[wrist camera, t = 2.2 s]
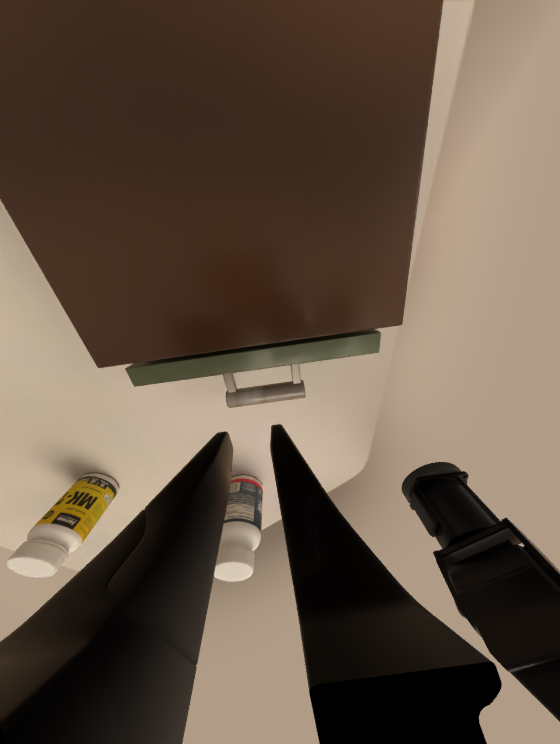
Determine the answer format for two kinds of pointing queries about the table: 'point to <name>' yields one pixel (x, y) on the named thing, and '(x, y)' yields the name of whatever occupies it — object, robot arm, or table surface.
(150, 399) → the table surface
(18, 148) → the cabinet
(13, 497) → the table surface
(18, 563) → the supplement bottle
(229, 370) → the drawer
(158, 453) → the table surface
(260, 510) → the pill bottle
